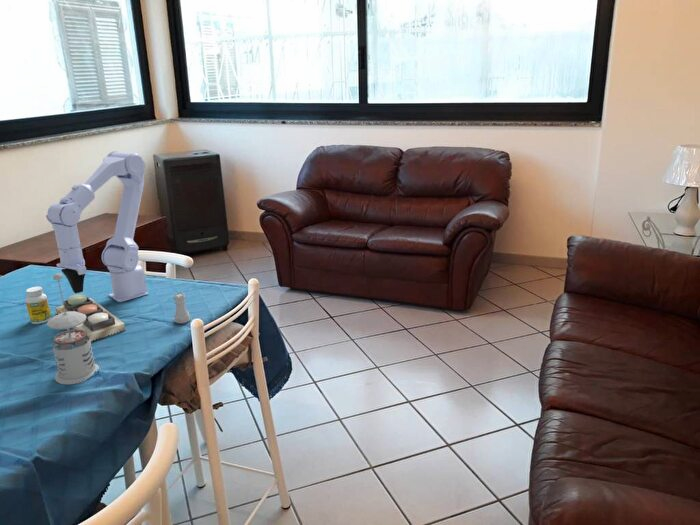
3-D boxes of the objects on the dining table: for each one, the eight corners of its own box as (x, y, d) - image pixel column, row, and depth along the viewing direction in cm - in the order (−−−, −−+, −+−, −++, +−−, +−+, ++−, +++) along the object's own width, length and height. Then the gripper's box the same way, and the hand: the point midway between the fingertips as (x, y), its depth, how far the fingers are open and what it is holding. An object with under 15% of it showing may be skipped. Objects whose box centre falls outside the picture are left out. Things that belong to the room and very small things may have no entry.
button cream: (105, 317, 158) (103, 311, 158) (112, 323, 155) (110, 316, 154) (86, 323, 155) (85, 316, 154) (93, 329, 152) (91, 322, 151)
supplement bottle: (50, 314, 166) (43, 284, 163) (53, 321, 162) (46, 289, 159) (29, 319, 164) (22, 288, 160) (31, 326, 159) (24, 294, 156)
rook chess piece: (194, 318, 162) (191, 292, 159) (183, 325, 158) (180, 298, 155) (181, 316, 164) (178, 290, 161) (170, 322, 160) (167, 296, 157)
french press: (53, 388, 129) (30, 284, 120) (55, 364, 139) (34, 267, 130) (100, 378, 132) (81, 277, 124) (99, 356, 142) (81, 260, 134)
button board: (91, 303, 173) (89, 292, 172) (125, 330, 156) (123, 317, 154) (56, 313, 167) (54, 301, 165) (87, 342, 149) (85, 329, 148)
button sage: (83, 298, 169) (82, 292, 168) (90, 303, 166) (88, 297, 165) (66, 303, 166) (64, 297, 165) (72, 308, 162) (70, 302, 162)
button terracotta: (94, 309, 164) (93, 302, 163) (100, 314, 160) (99, 307, 160) (76, 314, 161) (74, 308, 160) (82, 320, 157) (81, 313, 156)
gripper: (45, 244, 160) (54, 289, 165) (63, 255, 150) (72, 303, 155) (71, 238, 165) (80, 282, 170) (90, 249, 155) (99, 295, 160)
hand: (78, 292), depth 163 cm, fingers closed
